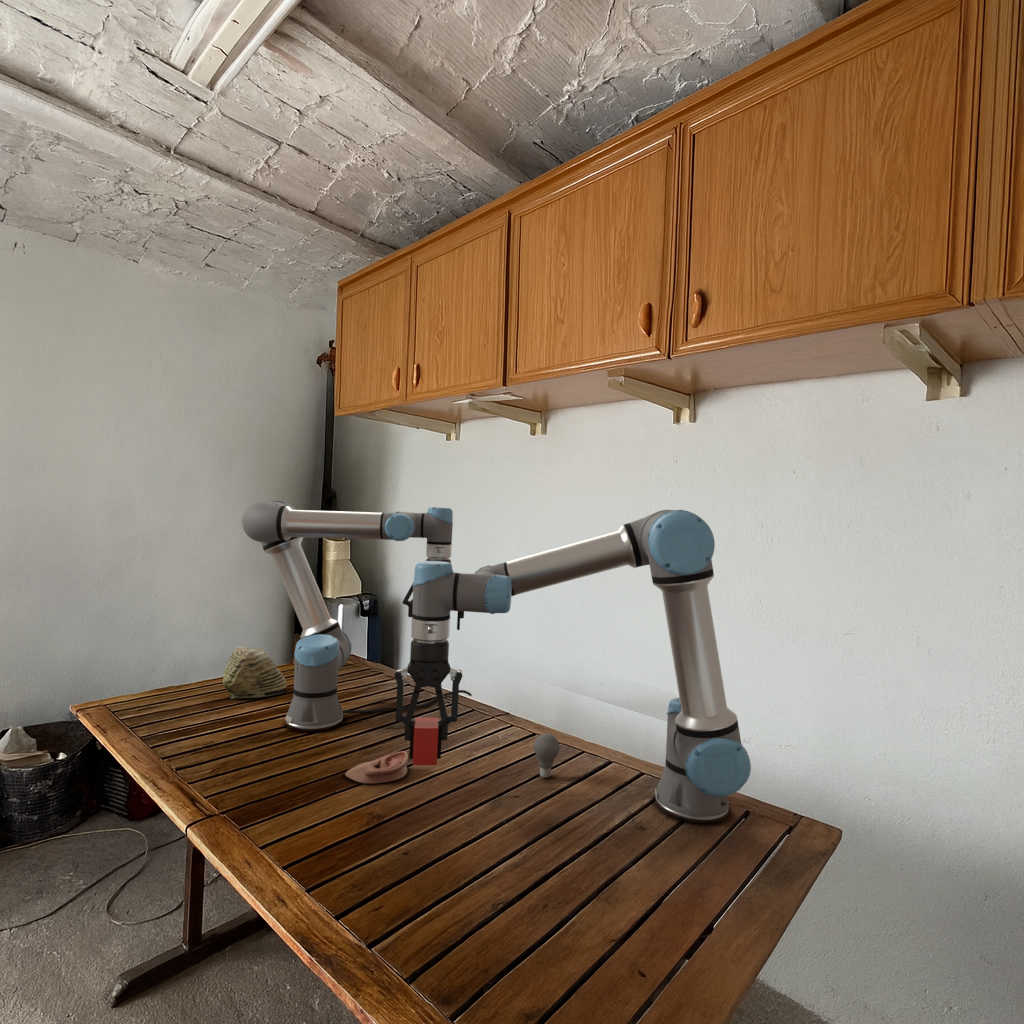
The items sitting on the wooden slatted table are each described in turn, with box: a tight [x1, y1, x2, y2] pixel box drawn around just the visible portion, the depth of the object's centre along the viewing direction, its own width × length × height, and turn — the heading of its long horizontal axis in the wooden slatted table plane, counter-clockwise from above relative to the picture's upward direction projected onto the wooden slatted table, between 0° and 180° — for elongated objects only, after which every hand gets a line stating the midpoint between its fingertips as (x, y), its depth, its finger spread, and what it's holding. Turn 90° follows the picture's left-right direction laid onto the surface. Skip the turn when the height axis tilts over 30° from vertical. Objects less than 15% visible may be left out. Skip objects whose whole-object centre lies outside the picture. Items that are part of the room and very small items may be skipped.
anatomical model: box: [344, 750, 409, 784], centre depth 146 cm, size 13×4×12 cm
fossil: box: [222, 646, 288, 699], centre depth 198 cm, size 9×18×15 cm, turn 132°
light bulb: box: [533, 732, 560, 778], centre depth 148 cm, size 6×6×10 cm
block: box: [412, 716, 440, 766], centre depth 126 cm, size 5×6×7 cm
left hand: (435, 628), depth 191 cm, fingers open, 13 cm apart
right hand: (425, 755), depth 126 cm, fingers closed on block, 5 cm apart
